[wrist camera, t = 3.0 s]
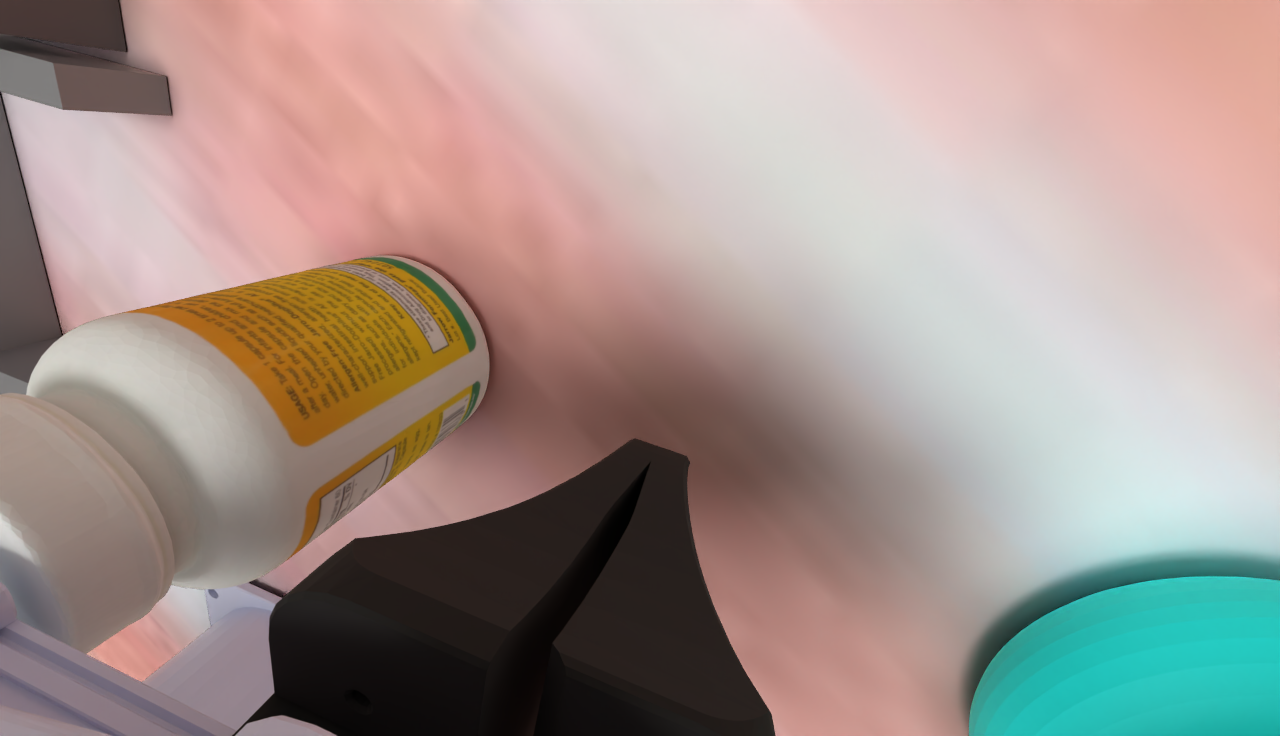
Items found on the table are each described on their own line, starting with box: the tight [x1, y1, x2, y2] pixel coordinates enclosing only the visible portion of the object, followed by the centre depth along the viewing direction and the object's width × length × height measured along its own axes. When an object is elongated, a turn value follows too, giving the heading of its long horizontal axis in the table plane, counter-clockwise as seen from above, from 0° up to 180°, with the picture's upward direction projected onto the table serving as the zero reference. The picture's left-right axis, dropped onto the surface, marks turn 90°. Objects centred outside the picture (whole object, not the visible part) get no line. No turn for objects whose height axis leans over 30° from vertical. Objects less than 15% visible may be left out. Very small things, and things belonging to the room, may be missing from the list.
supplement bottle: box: [0, 255, 490, 654], centre depth 12 cm, size 5×5×10 cm
